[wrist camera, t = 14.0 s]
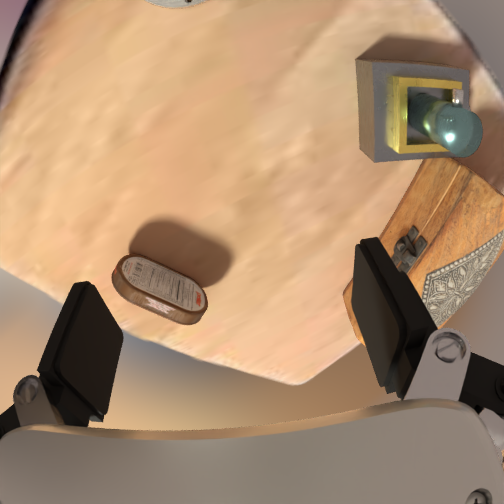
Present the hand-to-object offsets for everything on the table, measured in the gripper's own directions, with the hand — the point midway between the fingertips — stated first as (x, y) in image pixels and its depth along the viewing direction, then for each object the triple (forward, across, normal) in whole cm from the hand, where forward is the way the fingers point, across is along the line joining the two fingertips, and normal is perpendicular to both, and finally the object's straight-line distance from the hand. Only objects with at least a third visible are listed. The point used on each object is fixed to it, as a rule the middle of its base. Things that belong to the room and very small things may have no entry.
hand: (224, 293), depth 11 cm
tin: (+31, +14, +22) cm, 40 cm away
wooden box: (+31, -27, +23) cm, 47 cm away
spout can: (+25, -23, +1) cm, 34 cm away
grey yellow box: (+30, -23, +1) cm, 38 cm away
